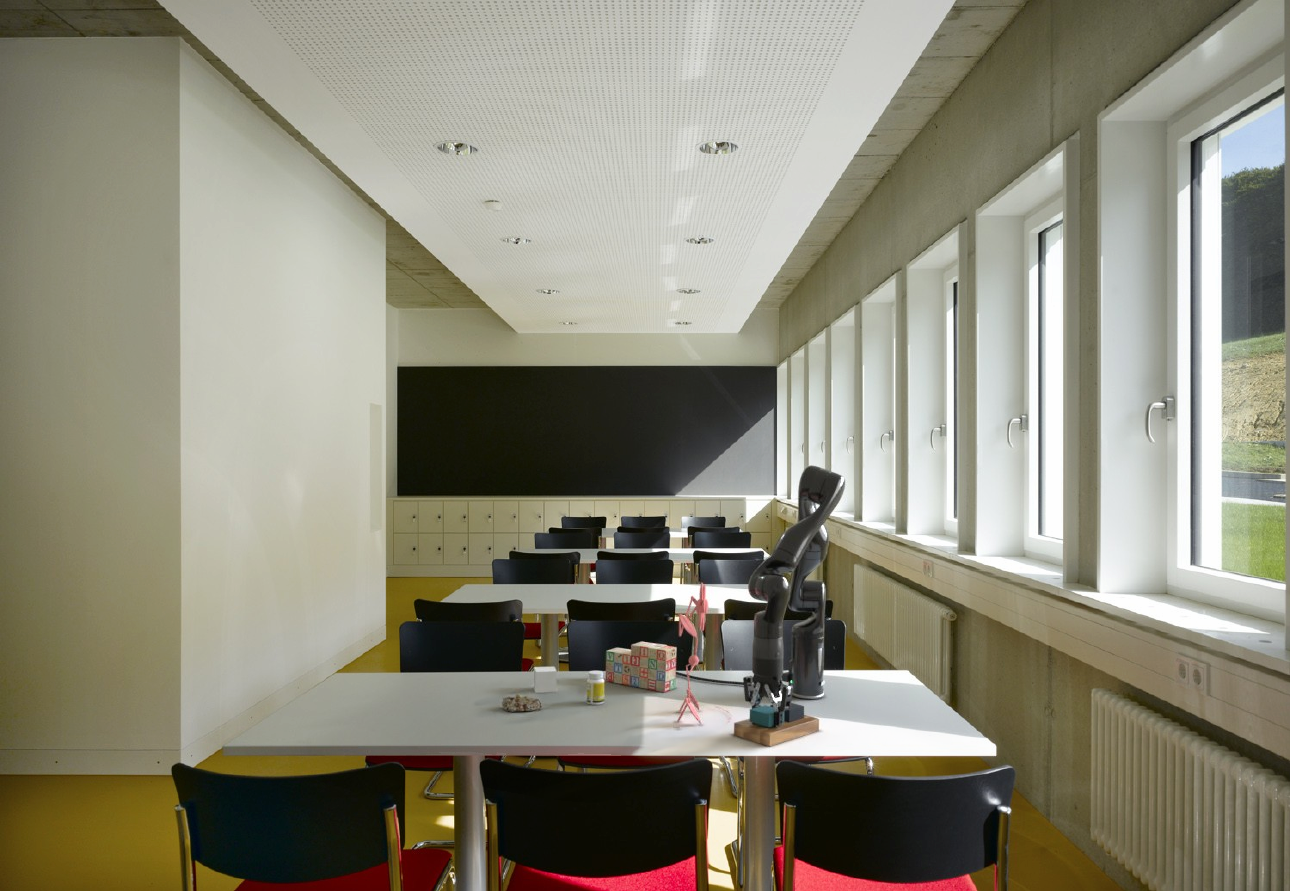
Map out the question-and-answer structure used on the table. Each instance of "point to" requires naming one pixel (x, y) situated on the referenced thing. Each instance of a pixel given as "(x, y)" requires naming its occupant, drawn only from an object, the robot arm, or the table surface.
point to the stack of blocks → (643, 666)
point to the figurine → (693, 660)
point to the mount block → (776, 730)
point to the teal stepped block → (763, 716)
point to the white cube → (544, 679)
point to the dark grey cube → (793, 713)
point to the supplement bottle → (595, 688)
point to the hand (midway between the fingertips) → (766, 723)
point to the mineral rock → (520, 703)
